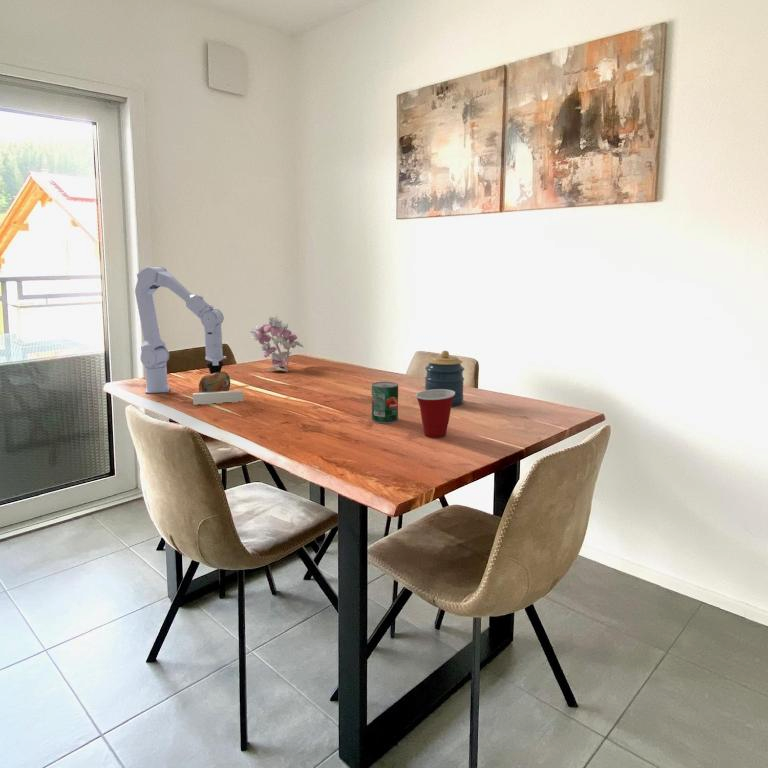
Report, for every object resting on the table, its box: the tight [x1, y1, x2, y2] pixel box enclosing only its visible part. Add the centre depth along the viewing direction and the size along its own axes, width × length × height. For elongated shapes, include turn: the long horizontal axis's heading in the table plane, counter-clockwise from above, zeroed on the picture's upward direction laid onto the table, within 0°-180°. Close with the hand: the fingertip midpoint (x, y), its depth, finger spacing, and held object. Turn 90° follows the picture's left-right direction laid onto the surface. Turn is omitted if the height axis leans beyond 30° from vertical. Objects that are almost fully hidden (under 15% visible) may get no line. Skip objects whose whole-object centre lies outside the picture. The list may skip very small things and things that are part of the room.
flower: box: [249, 315, 304, 373], centre depth 262 cm, size 20×22×25 cm
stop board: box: [192, 389, 244, 406], centre depth 202 cm, size 2×16×4 cm, turn 108°
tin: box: [198, 371, 231, 393], centre depth 209 cm, size 15×3×8 cm, turn 160°
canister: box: [424, 350, 465, 407], centre depth 203 cm, size 13×13×18 cm
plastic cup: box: [414, 389, 455, 439], centre depth 165 cm, size 11×11×12 cm
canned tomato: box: [371, 381, 399, 424], centre depth 180 cm, size 8×8×11 cm
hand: (215, 382), depth 216 cm, fingers closed
